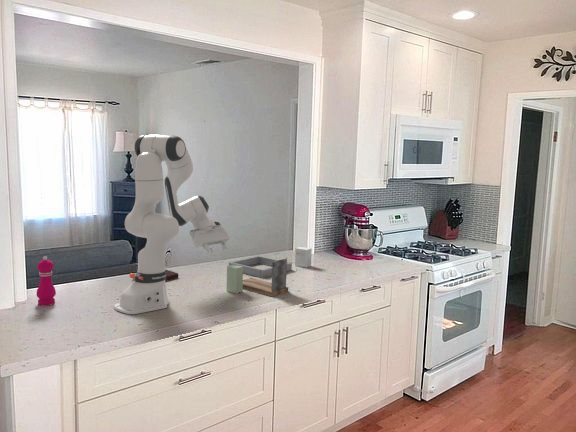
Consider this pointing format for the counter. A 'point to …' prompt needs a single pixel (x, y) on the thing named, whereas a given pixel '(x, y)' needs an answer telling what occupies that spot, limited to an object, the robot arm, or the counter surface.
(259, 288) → the bookend
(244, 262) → the gray square frame
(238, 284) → the sage green box
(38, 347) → the counter surface
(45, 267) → the pepper mill
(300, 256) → the small box
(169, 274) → the book
